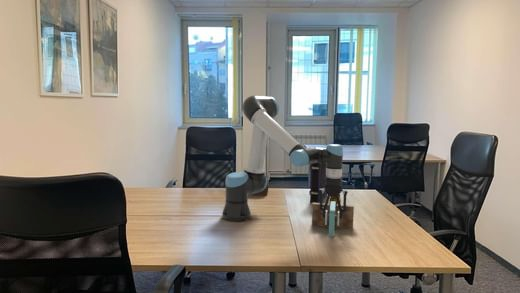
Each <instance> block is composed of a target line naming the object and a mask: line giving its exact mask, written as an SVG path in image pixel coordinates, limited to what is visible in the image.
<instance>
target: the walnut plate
mask: <svg viewBox="0 0 520 293" xmlns="http://www.w3.org/2000/svg"><path fill="white" fill-rule="evenodd" d="M324 205H325V203H323V202H322V207H324ZM319 207H320V202H319V203H317V202H312V208H311V209H312V210H311V212H312V213H311V226H315V227H328V228H329V203H328V205H327V208H326V210H327V225H325V218H323V210H320V209H319ZM341 208H343V204H341ZM354 210H355V206H354V205H353V204H352V205H351V204H346V211H344V212H342V218H341V219H339V226H337V221H338V211H339V208H338V204H337V210H336V215H335V228H340V229H341V228H342V229H354V213H355V211H354Z"/></svg>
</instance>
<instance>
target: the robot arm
mask: <svg viewBox="0 0 520 293" xmlns="http://www.w3.org/2000/svg"><path fill="white" fill-rule="evenodd" d="M279 108H280V105H279V103H278V101H277V100H276V99H275V97H273V96H268V95H251V96H250V95H249V96H248V97H247V98H246V99H245V100H244V101H243V103H242V112H243V114H244V116H245V118H246V119H247V120H248V121H249V122H250V123H251V124H253V126H252V132H251V140H250V145H249V154H248V160H247V165H246V166H245V167H244V168H243V171H237V172H231V173H229V174H227V175H226V177H225V183H224V184H225V204H224V207H223V210H222V213H221V215H222V216H221V218H222V219H223V220H225V221H229V222H245V221H248V220H250V219H251V216H252V215H251V209H250V206H249V203H248V198H249V196H252V195H251V194H254V193H259V192H260V191H262V190H264V189H265V187H266V186H267V180H268V179H267V177H268V176H267V175H266V170H265V169H264V164H265V156H266V151H267V150H266V149H267V145H268V138H270V139H271V140H272V141H274V143H275V144H276V145H278V147H280V149H281V150H283V151H284V152H285V153H286V154H287V155H288V156H289V160H290V162H291V165H293V166H294V167H304V166H307V165H311V164H313V163H323V164H326V176H327V177H326V185H325V188H323V189H319V192H320V202H319V203H320V207H319V209H320V210H323V218H325V225H327V210H326V208H327V205H328V204H329V202H330V196H331V197H332V196H334V197H336V199H337V203H338V208H339V211H338V221H337V226H339V219H341V218H342V212H344V211H346V205H347V196H348V190H346V189H343V186H342V185H343V181H342V180H343V178H342V177H343V158H344V157H343V156H344V152H343V150H344V148H343V145H341V144H337V143H335V144H333V143H331V144H327V145H326V147H319V146H318V147H315V146H306V147H304V146H303V145H301V143H299V142H298V141H297V140H296V139H295V138H294V137H293V136H292V135H291V134H290V133H289V132H288V131H286V130H285V129H284V128H283V127H282V126H281V125H280V124H279V123H278V122H277V121H276V120H274V118H275V117H276V116H277V115H278V114H279V111H280V109H279ZM266 176H267V177H266ZM324 191H326V193H327V196H326V199H325V201H324V202H325V205H324V207H322V203H323V200H324V199H323V193H324ZM341 193H342V195H343V204H342V203H340V199H341V198H340V199H339V194H340V195H341ZM341 205H343V208H341Z"/></svg>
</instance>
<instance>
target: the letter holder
mask: <svg viewBox="0 0 520 293" xmlns="http://www.w3.org/2000/svg"><path fill="white" fill-rule="evenodd" d="M266 177H267V186H266V187H265V189H264V190H262V191H260V192H259V193H254V194H251V195H250V196H268V195H269V194H268V193H269V179H268V176H267V175H266Z"/></svg>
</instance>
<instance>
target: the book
mask: <svg viewBox="0 0 520 293" xmlns="http://www.w3.org/2000/svg"><path fill="white" fill-rule="evenodd" d="M309 170H310V188H309V189H310V190H309V194H308V195H309V196H310V197H309V198H310V199H309V202H310V203H320V192H319V189H323V188H325V185H326V177H327V176H326V164H323V163H313V164H310V166H309ZM327 195H328V194H327V193H326V191H324V193H323V200H324V199H325V198H327Z"/></svg>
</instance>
